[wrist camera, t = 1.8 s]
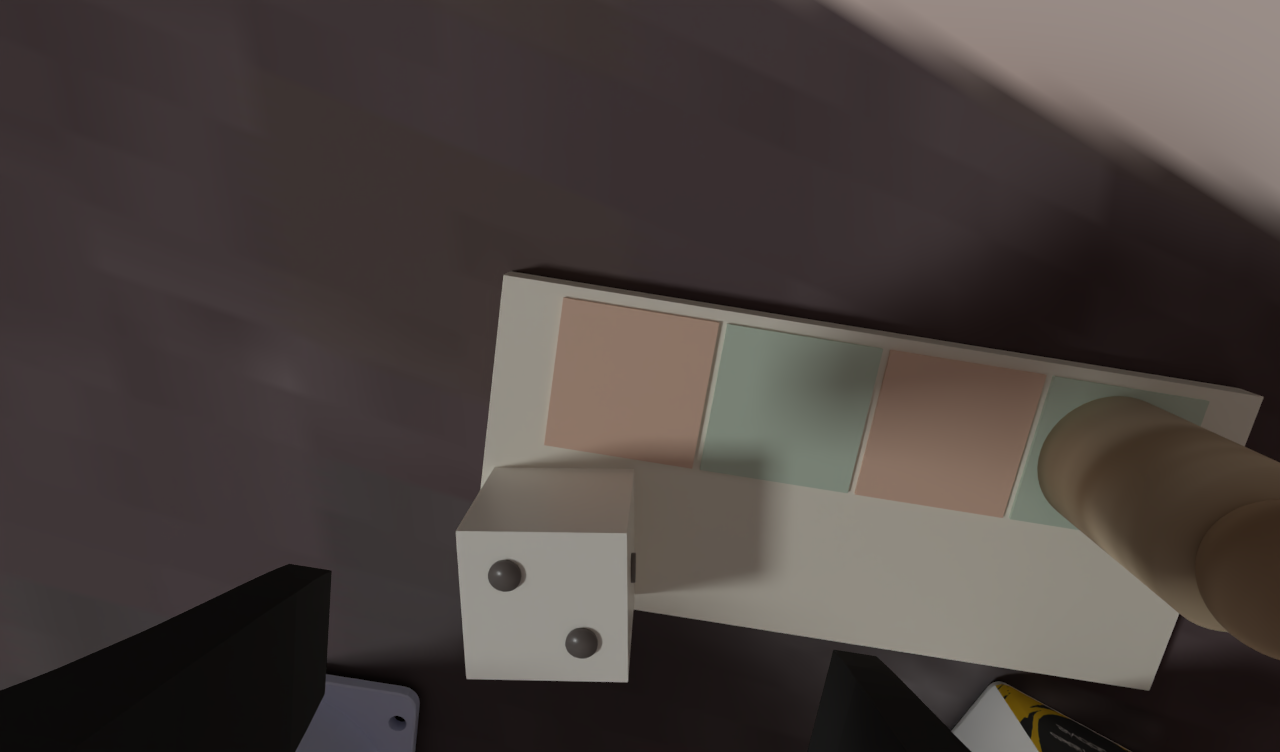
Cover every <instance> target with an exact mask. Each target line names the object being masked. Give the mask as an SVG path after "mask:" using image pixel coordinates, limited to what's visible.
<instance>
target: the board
mask: <svg viewBox="0 0 1280 752" xmlns="http://www.w3.org/2000/svg"><path fill="white" fill-rule="evenodd" d="M1111 396H1124V397H1132V398H1136V399H1140V400H1143V401H1145V402H1148V403H1150V404H1152V405H1154V406H1157V407H1159V408H1161V409H1163V410H1165V411H1168V412H1170V413H1172V414H1174V415H1176V416H1179V417H1181V418H1183V419H1185V420H1187V421H1189V422H1192V423H1194V424H1196V425H1198V426H1200V427H1203V428H1205V429H1207V430H1209V431H1211V432H1214V433H1216V434H1218V435H1220V436H1222V437H1225V438H1227V439H1229V440H1231V441H1233V442H1236V443H1238V444H1240V445H1242V446H1244V447H1245V444H1246V442H1247V439H1248V437H1249V434H1250V431H1251V429H1252V426H1253V424H1254V421H1255V419H1256V416H1257V413H1258V411H1259V408H1260V406H1261V403H1262V401H1263V398H1264V397H1263V396H1260V395H1257V394H1254V393H1251V392H1248V391H1246V390H1243V389H1240V388H1235V387H1229V386H1222V385H1216V384H1210V383H1204V382H1198V381H1191V380H1185V379H1179V378H1173V377H1166V376H1160V375H1154V374H1148V373H1141V372H1135V371H1129V370H1123V369H1117V368H1110V367H1104V366H1098V365H1092V364H1085V363H1079V362H1073V361H1067V360H1060V359H1054V358H1048V357H1042V356H1036V355H1029V354H1023V353H1017V352H1011V351H1004V350H998V349H992V348H986V347H979V346H973V345H967V344H961V343H954V342H948V341H942V340H936V339H930V338H923V337H917V336H911V335H905V334H898V333H892V332H886V331H880V330H873V329H867V328H861V327H855V326H849V325H842V324H836V323H830V322H824V321H817V320H811V319H805V318H799V317H792V316H786V315H780V314H774V313H768V312H761V311H755V310H749V309H743V308H736V307H730V306H724V305H718V304H711V303H705V302H699V301H693V300H687V299H680V298H674V297H668V296H662V295H655V294H649V293H643V292H637V291H630V290H624V289H618V288H612V287H606V286H599V285H593V284H587V283H581V282H574V281H568V280H562V279H556V278H549V277H543V276H537V275H531V274H525V273H518V272H512V271H510V272H508V273H506V274H505V275H504V277H503V286H502V295H501V304H500V314H499V323H498V332H497V341H496V351H495V360H494V369H493V378H492V388H491V397H490V406H489V415H488V425H487V434H486V443H485V452H484V462H483V471H482V480H481V488H482V487H483V485H484V484H485V482H486V480H487V479H488V477H489V475H490V474H491V472H492V470H493V469H494V467H516V468H616V469H634V549H635V553H636V581H635V597H634V610H640V611H646V612H653V613H659V614H665V615H672V616H678V617H684V618H691V619H697V620H703V621H710V622H716V623H722V624H729V625H735V626H741V627H748V628H754V629H761V630H767V631H773V632H780V633H786V634H792V635H799V636H805V637H811V638H818V639H824V640H830V641H837V642H843V643H849V644H856V645H862V646H868V647H875V648H881V649H887V650H894V651H900V652H906V653H913V654H919V655H925V656H932V657H938V658H944V659H951V660H957V661H963V662H970V663H976V664H982V665H989V666H995V667H1001V668H1008V669H1014V670H1021V671H1027V672H1033V673H1040V674H1046V675H1052V676H1059V677H1065V678H1071V679H1078V680H1084V681H1090V682H1097V683H1103V684H1109V685H1116V686H1122V687H1128V688H1135V689H1141V690H1147V691H1149V690H1150V687H1151V685H1152V682H1153V680H1154V677H1155V675H1156V672H1157V670H1158V667H1159V664H1160V662H1161V659H1162V657H1163V654H1164V652H1165V649H1166V647H1167V644H1168V641H1169V639H1170V636H1171V634H1172V631H1173V629H1174V626H1175V623H1176V621H1177V618H1178V616H1179V613H1178V612H1177V611H1176V610H1174V609H1173V608H1172V607H1171V606H1170V605H1168V604H1167V603H1166V602H1165V601H1164V600H1162V599H1161V598H1160V597H1159V596H1158V595H1156V594H1155V593H1154V592H1153V591H1152V590H1150V589H1149V588H1148V587H1147V586H1146V585H1144V584H1143V583H1142V582H1141V581H1140V580H1139V579H1137V578H1136V577H1135V576H1134V575H1133V574H1131V573H1130V572H1129V571H1128V570H1127V569H1125V568H1124V567H1123V566H1122V565H1121V564H1119V563H1118V562H1117V561H1116V560H1115V559H1113V558H1112V557H1111V556H1110V555H1109V554H1107V553H1106V552H1105V551H1104V550H1103V549H1101V548H1100V547H1099V546H1098V545H1097V544H1096V543H1094V542H1093V541H1092V540H1091V539H1090V538H1088V537H1087V536H1086V535H1085V534H1084V533H1082V532H1081V531H1080V530H1079V529H1078V528H1076V527H1075V526H1074V525H1073V524H1072V523H1070V522H1069V521H1068V520H1067V519H1066V518H1064V517H1063V516H1062V515H1061V514H1060V513H1058V512H1057V511H1056V510H1055V509H1054V508H1053V507H1052V506H1051V505H1050V504H1049V502H1048V501H1047V500H1046V498H1045V497H1044V495H1043V493H1042V491H1041V488H1040V485H1039V481H1038V472H1037V466H1038V458H1039V454H1040V451H1041V448H1042V446H1043V443H1044V441H1045V439H1046V437H1047V436H1048V434H1049V433H1050V431H1051V430H1052V429H1053V427H1054V426H1055V425H1056V424H1057V423H1058V422H1059V421H1060V420H1061V419H1062V418H1063V417H1064V416H1065V415H1067V414H1068V413H1069V412H1071V411H1072V410H1074V409H1075V408H1077V407H1079V406H1081V405H1083V404H1085V403H1087V402H1090V401H1092V400H1096V399H1100V398H1104V397H1111ZM480 490H481V489H480Z"/></svg>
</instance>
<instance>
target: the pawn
mask: <svg viewBox="0 0 1280 752" xmlns="http://www.w3.org/2000/svg"><path fill="white" fill-rule="evenodd" d="M1037 472H1038V481H1039V485H1040V488H1041V491H1042V493H1043V495H1044V497H1045V498H1046V500H1047V501H1048V502H1049V504H1050V505H1051V506H1052V507H1053V508H1054V509H1055V510H1056V511H1057V512H1058V513H1060V514H1061V515H1062V516H1063V517H1064V518H1066V519H1067V520H1068V521H1069V522H1070V523H1072V524H1073V525H1074V526H1075V527H1076V528H1078V529H1079V530H1080V531H1081V532H1082V533H1084V534H1085V535H1086V536H1087V537H1088V538H1090V539H1091V540H1092V541H1093V542H1094V543H1096V544H1097V545H1098V546H1099V547H1100V548H1101V549H1103V550H1104V551H1105V552H1106V553H1107V554H1109V555H1110V556H1111V557H1112V558H1113V559H1115V560H1116V561H1117V562H1118V563H1119V564H1121V565H1122V566H1123V567H1124V568H1125V569H1127V570H1128V571H1129V572H1130V573H1131V574H1133V575H1134V576H1135V577H1136V578H1137V579H1139V580H1140V581H1141V582H1142V583H1143V584H1144V585H1146V586H1147V587H1148V588H1149V589H1150V590H1152V591H1153V592H1154V593H1155V594H1156V595H1158V596H1159V597H1160V598H1161V599H1162V600H1164V601H1165V602H1166V603H1167V604H1168V605H1170V606H1171V607H1172V608H1173V609H1174V610H1176V611H1177V612H1178V613H1179V614H1180V615H1182V616H1183V617H1185V618H1186V619H1187V620H1189V621H1191V622H1193V623H1195V624H1197V625H1199V626H1202V627H1205V628H1207V629H1212V630H1216V631H1224V632H1229V633H1230V634H1231V635H1232V636H1234V637H1235V638H1237V639H1238V640H1239V641H1241V642H1242V643H1244V644H1245V645H1247V646H1249V647H1250V648H1252V649H1254V650H1256V651H1258V652H1260V653H1262V654H1264V655H1267V656H1270V657H1272V658H1275V659H1278V660H1280V463H1279V462H1277V461H1275V460H1273V459H1271V458H1268V457H1266V456H1264V455H1262V454H1260V453H1258V452H1255V451H1253V450H1251V449H1249V448H1247V447H1244V446H1242V445H1240V444H1238V443H1236V442H1233V441H1231V440H1229V439H1227V438H1225V437H1222V436H1220V435H1218V434H1216V433H1214V432H1211V431H1209V430H1207V429H1205V428H1203V427H1200V426H1198V425H1196V424H1194V423H1192V422H1189V421H1187V420H1185V419H1183V418H1181V417H1179V416H1176V415H1174V414H1172V413H1170V412H1168V411H1165V410H1163V409H1161V408H1159V407H1157V406H1154V405H1152V404H1150V403H1148V402H1145V401H1143V400H1140V399H1136V398H1132V397H1124V396H1111V397H1104V398H1100V399H1096V400H1092V401H1090V402H1087V403H1085V404H1083V405H1081V406H1079V407H1077V408H1075V409H1074V410H1072V411H1071V412H1069V413H1068V414H1067V415H1065V416H1064V417H1063V418H1062V419H1061V420H1060V421H1059V422H1058V423H1057V424H1056V425H1055V426H1054V427H1053V429H1052V430H1051V431H1050V433H1049V434H1048V436H1047V437H1046V439H1045V441H1044V443H1043V446H1042V448H1041V451H1040V454H1039V458H1038V466H1037Z"/></svg>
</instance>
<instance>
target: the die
mask: <svg viewBox="0 0 1280 752" xmlns="http://www.w3.org/2000/svg"><path fill="white" fill-rule="evenodd" d="M456 543H457V557H458V571H459V585H460V598H461V612H462V626H463V640H464V654H465V668H466V679H485V680H535V681H586V682H628V677H629V663H630V650H631V637H632V624H633V611H634V597H635V581H636V553H635V549H634V469H616V468H516V467H494V469H493V470H492V472H491V474H490V475H489V477H488V479H487V480H486V482H485V484H484V485H483V487H482V488H481V490H480V492H479V493H478V495H477V497H476V498H475V500H474V502H473V503H472V505H471V507H470V508H469V510H468V512H467V513H466V515H465V516H464V518H463V520H462V521H461V523H460V525H459V526H458V528H457V530H456Z"/></svg>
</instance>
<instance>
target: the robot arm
mask: <svg viewBox="0 0 1280 752" xmlns="http://www.w3.org/2000/svg"><path fill="white" fill-rule="evenodd" d="M330 589H331V571H330V570H324V569H318V568H311V567H305V566H299V565H292V564H288V565H285V566H283V567H280V568H278V569H275V570H273V571H271V572H268V573H266V574H264V575H262V576H259V577H257V578H255V579H253V580H251V581H249V582H247V583H245V584H242V585H240V586H238V587H236V588H234V589H232V590H230V591H228V592H226V593H224V594H222V595H220V596H217V597H215V598H213V599H211V600H209V601H207V602H205V603H203V604H201V605H199V606H197V607H194V608H192V609H190V610H188V611H186V612H184V613H182V614H180V615H177V616H175V617H173V618H171V619H169V620H167V621H165V622H163V623H161V624H158V625H156V626H154V627H152V628H150V629H148V630H146V631H143V632H141V633H139V634H136V635H134V636H132V637H129V638H127V639H125V640H123V641H120V642H118V643H116V644H113V645H111V646H109V647H106V648H104V649H102V650H99V651H97V652H95V653H92V654H90V655H88V656H86V657H83V658H81V659H79V660H76V661H74V662H72V663H69V664H67V665H65V666H62V667H60V668H58V669H55V670H53V671H50V672H48V673H45V674H43V675H40V676H38V677H35V678H32V679H30V680H27V681H25V682H22V683H19V684H17V685H14V686H12V687H9V688H6V689H4V690H1V691H0V752H415V750H416V739H417V728H418V718H419V707H420V701H419V697H418V695H417V694H416V692H414V691H413V690H412V689H411V688H408V687H405V686H399V685H392V684H386V683H380V682H373V681H367V680H361V679H354V678H348V677H341V676H335V675H329V674H326V664H327V645H328V627H329V608H330ZM394 716H400V717H402V718H403V719H404V720H405V721H404V722H401V721H399V720H397V719H396V718H395V717H394ZM808 752H971V751H970V750H969V749H968V748H967V747H966V746H965V745H964V744H963V743H962V742H961V741H960V740H959V739H958V738H957V737H956V736H955V735H954V734H953V733H952V732H951V731H950V730H949V729H948V728H947V727H946V726H945V725H944V724H943V723H942V722H941V720H940V719H939V718H938V717H937V716H936V715H935V714H934V713H933V712H932V711H931V710H930V709H929V708H928V707H927V706H926V705H925V704H924V703H923V702H922V701H921V700H920V699H919V698H918V697H917V696H916V695H915V694H914V693H913V692H912V691H911V690H910V689H909V688H908V687H907V686H906V685H905V684H904V683H903V682H902V681H901V680H900V679H899V678H898V677H897V676H896V675H895V674H894V673H893V672H892V671H891V670H890V669H889V668H888V667H887V666H886V665H885V664H884V663H883V662H882V661H881V660H880V659H878V658H877V657H876V656H870V655H864V654H857V653H851V652H845V651H838V650H833V654H832V658H831V662H830V666H829V670H828V674H827V678H826V682H825V685H824V689H823V693H822V697H821V701H820V705H819V709H818V713H817V717H816V720H815V724H814V728H813V732H812V736H811V740H810V744H809V748H808Z"/></svg>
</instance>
